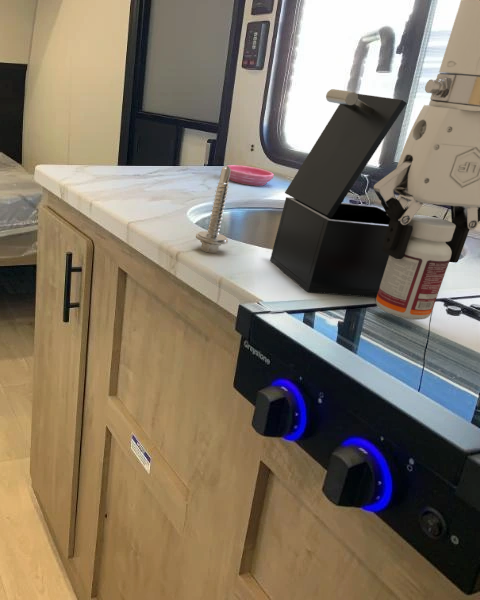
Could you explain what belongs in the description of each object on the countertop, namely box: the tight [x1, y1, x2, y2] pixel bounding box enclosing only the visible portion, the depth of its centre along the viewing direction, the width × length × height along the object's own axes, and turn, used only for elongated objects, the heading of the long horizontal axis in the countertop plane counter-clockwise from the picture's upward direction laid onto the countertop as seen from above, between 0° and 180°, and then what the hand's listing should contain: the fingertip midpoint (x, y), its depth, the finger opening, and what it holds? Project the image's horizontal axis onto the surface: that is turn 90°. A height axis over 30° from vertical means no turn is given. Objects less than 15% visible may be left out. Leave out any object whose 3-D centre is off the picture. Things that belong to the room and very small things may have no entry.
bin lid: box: [284, 88, 408, 218], centre depth 78 cm, size 15×13×5 cm
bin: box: [269, 196, 390, 298], centre depth 84 cm, size 15×13×10 cm
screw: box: [195, 165, 231, 254], centre depth 89 cm, size 13×5×5 cm
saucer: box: [226, 164, 275, 187], centre depth 155 cm, size 12×12×3 cm
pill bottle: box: [375, 214, 456, 321], centre depth 70 cm, size 6×6×11 cm
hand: (419, 255), depth 70 cm, fingers closed on pill bottle, 6 cm apart
